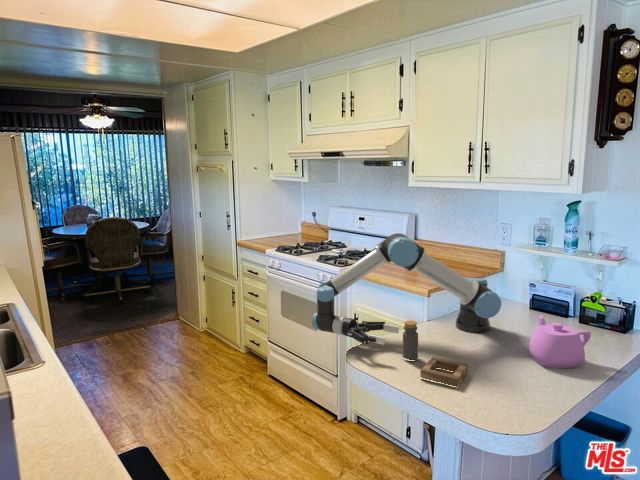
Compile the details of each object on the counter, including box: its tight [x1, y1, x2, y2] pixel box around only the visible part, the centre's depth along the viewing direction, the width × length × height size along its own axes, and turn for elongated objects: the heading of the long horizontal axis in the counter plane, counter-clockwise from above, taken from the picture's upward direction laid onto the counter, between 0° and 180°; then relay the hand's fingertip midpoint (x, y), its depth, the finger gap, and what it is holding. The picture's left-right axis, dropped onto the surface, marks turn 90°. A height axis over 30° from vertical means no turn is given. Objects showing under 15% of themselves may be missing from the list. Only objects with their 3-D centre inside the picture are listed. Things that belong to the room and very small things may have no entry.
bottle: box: [402, 320, 419, 360], centre depth 173 cm, size 6×6×15 cm
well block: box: [419, 356, 469, 387], centre depth 159 cm, size 13×13×4 cm
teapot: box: [528, 314, 592, 369], centre depth 170 cm, size 23×21×15 cm
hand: (391, 335), depth 177 cm, fingers open, 13 cm apart
